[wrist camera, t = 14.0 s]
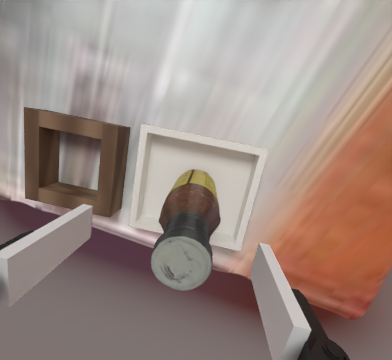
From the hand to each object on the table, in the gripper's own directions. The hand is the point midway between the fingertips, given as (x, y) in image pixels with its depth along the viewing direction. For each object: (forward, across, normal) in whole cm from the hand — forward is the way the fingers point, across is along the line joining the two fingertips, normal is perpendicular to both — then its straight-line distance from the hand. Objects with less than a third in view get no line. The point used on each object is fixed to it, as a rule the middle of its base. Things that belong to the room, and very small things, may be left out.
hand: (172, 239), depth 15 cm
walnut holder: (+18, -19, 0) cm, 26 cm away
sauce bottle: (+17, +1, 0) cm, 17 cm away
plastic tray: (+18, 0, 0) cm, 18 cm away
